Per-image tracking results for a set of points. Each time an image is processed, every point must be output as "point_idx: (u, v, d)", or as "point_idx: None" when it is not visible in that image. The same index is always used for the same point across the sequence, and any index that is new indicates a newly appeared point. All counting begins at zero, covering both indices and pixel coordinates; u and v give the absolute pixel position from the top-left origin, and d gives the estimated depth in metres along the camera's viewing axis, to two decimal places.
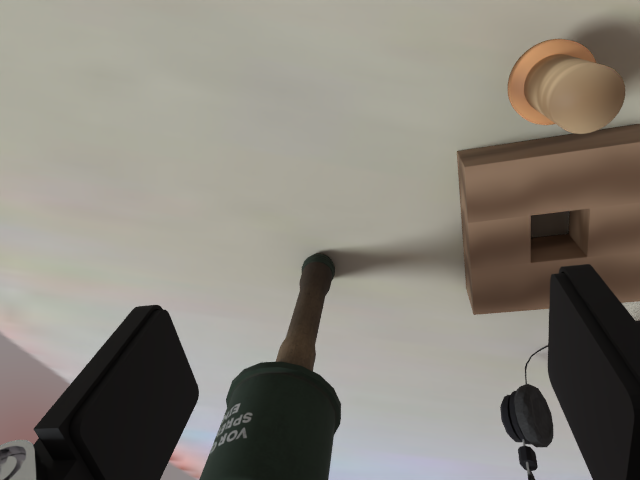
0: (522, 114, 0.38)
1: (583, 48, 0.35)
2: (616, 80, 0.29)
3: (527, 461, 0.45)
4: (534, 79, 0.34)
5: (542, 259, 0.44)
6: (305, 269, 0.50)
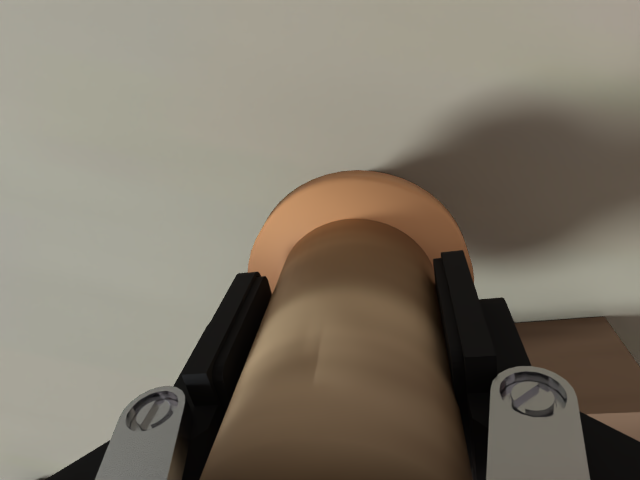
0: None
1: (424, 207, 0.12)
2: None
3: None
4: None
5: None
6: None
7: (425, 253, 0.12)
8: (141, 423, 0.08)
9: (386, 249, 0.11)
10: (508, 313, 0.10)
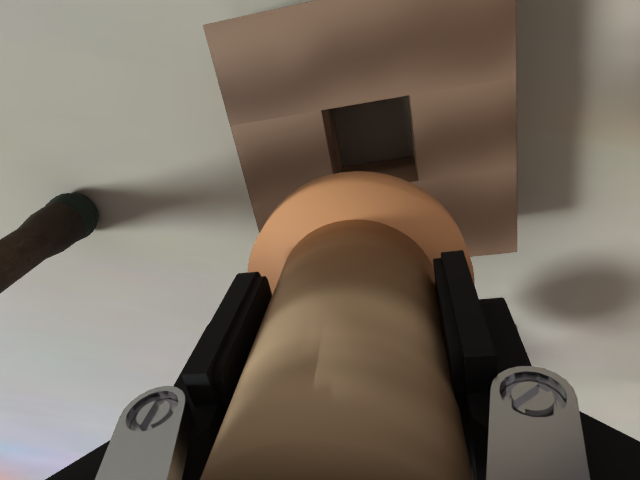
0: None
1: (424, 208, 0.12)
2: None
3: None
4: None
5: None
6: None
7: (425, 254, 0.12)
8: (141, 423, 0.08)
9: (386, 250, 0.11)
10: (508, 313, 0.10)
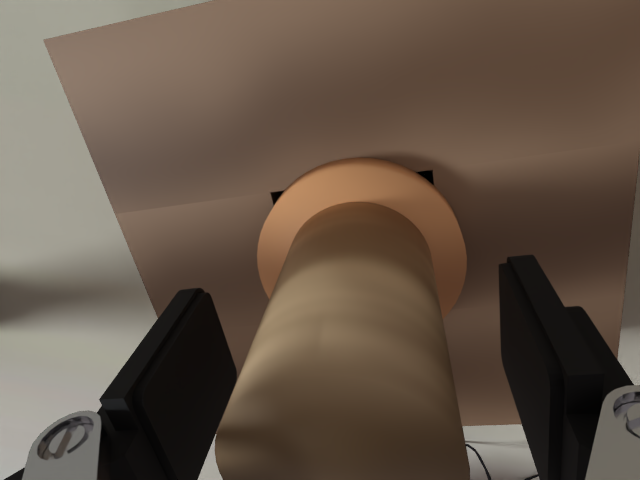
0: None
1: (420, 191, 0.13)
2: (428, 428, 0.07)
3: None
4: None
5: None
6: None
7: (421, 234, 0.13)
8: (53, 450, 0.08)
9: (385, 228, 0.12)
10: (591, 323, 0.09)
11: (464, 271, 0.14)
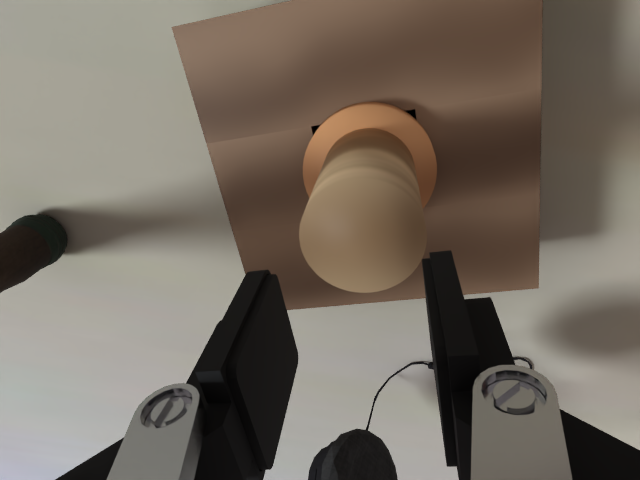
0: None
1: (407, 120, 0.21)
2: (406, 207, 0.15)
3: None
4: None
5: None
6: None
7: (408, 148, 0.21)
8: (156, 420, 0.08)
9: (385, 139, 0.20)
10: (494, 313, 0.10)
11: (435, 174, 0.22)
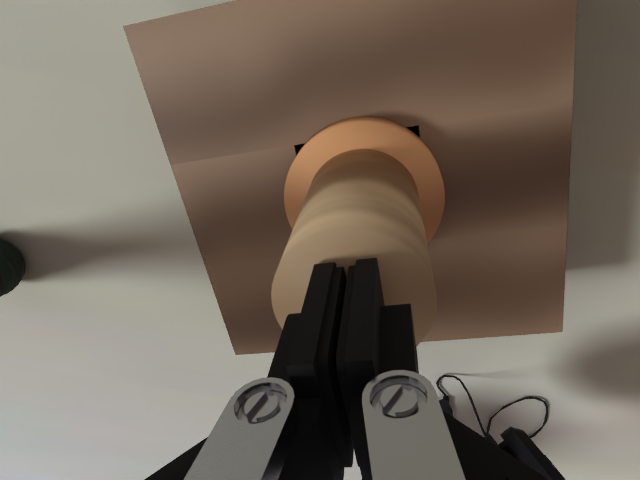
0: None
1: (409, 139, 0.17)
2: (410, 266, 0.12)
3: None
4: None
5: None
6: None
7: (410, 173, 0.18)
8: (251, 415, 0.08)
9: (383, 164, 0.16)
10: (410, 319, 0.10)
11: (442, 203, 0.18)
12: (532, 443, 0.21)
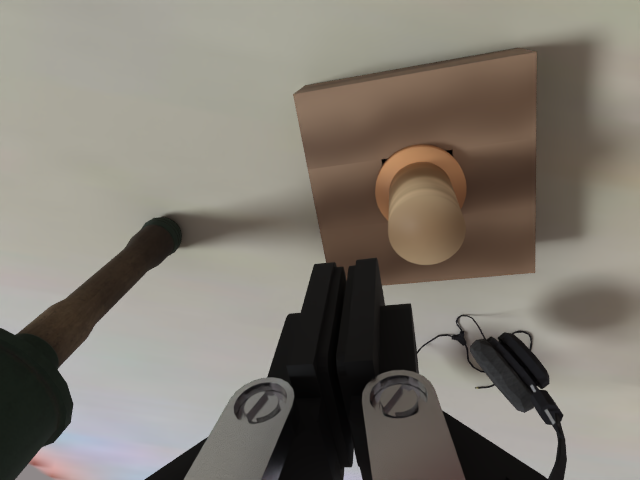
0: None
1: (447, 157, 0.32)
2: (454, 213, 0.26)
3: None
4: (390, 191, 0.31)
5: None
6: None
7: (447, 175, 0.32)
8: (251, 415, 0.08)
9: (434, 169, 0.31)
10: (410, 319, 0.10)
11: (465, 192, 0.33)
12: (516, 337, 0.35)
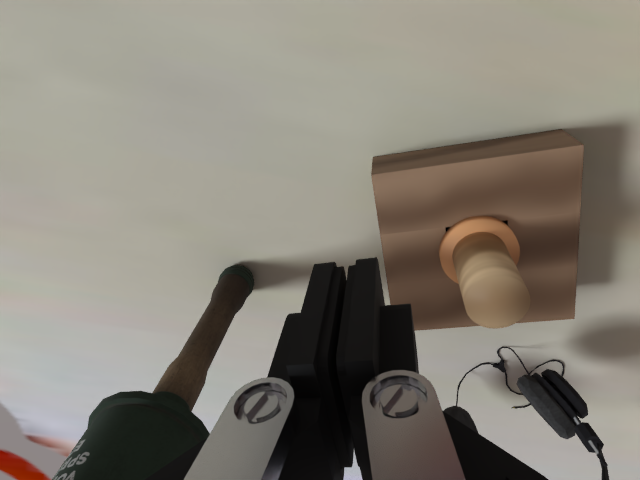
0: (452, 278, 0.40)
1: (505, 228, 0.37)
2: (521, 289, 0.32)
3: None
4: (457, 259, 0.37)
5: None
6: (219, 282, 0.47)
7: (504, 243, 0.38)
8: (251, 415, 0.08)
9: (495, 241, 0.36)
10: (410, 319, 0.10)
11: (518, 256, 0.38)
12: (559, 375, 0.41)
